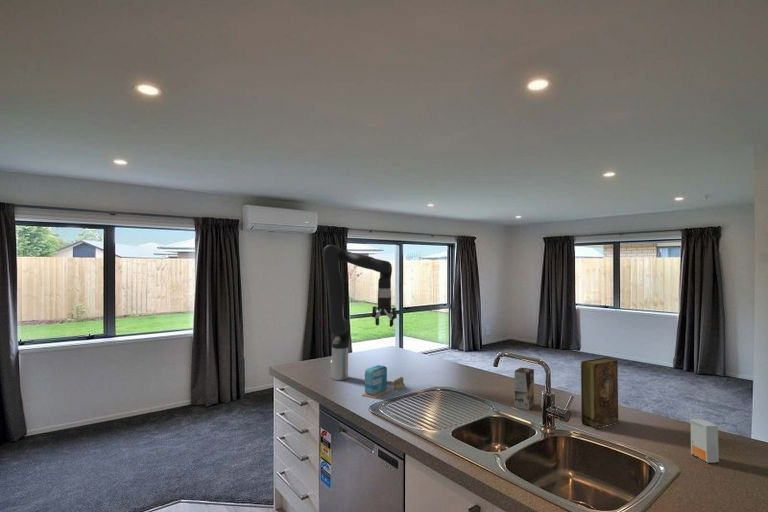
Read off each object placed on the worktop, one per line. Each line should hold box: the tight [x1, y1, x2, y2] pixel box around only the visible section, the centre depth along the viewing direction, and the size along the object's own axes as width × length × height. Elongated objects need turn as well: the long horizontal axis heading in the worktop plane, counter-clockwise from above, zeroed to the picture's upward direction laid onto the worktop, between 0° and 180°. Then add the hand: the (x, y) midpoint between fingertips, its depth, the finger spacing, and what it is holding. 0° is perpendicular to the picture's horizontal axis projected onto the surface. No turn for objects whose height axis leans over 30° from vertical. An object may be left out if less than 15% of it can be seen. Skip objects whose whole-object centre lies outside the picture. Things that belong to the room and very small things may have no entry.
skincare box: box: [690, 418, 720, 463], centre depth 124 cm, size 6×4×12 cm
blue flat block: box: [364, 364, 388, 395], centre depth 189 cm, size 12×4×12 cm, turn 142°
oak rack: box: [387, 376, 406, 392], centre depth 201 cm, size 16×10×5 cm, turn 61°
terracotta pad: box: [361, 389, 390, 399], centre depth 189 cm, size 8×14×1 cm, turn 151°
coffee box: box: [514, 367, 535, 411], centre depth 173 cm, size 9×6×16 cm
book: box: [580, 357, 619, 430], centre depth 153 cm, size 16×6×25 cm, turn 117°
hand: (384, 325), depth 212 cm, fingers open, 8 cm apart
